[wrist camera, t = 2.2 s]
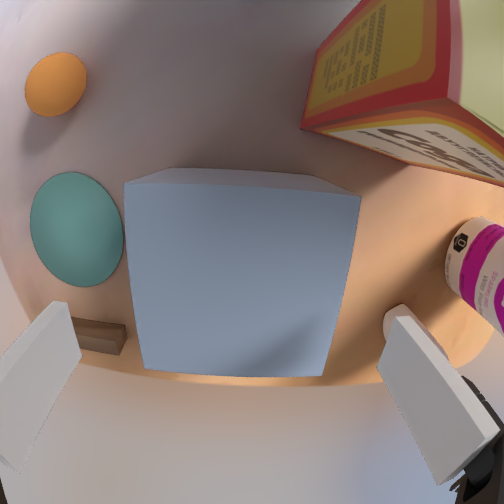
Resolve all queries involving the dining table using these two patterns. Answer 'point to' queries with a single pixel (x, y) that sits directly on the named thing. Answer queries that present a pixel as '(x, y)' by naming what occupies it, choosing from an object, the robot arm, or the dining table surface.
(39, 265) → the dining table surface
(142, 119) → the dining table surface
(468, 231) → the supplement can
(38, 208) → the disc
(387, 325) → the eye dropper bottle
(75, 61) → the ball
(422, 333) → the robot arm
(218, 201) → the light blue block
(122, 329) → the block
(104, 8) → the dining table surface
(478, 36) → the baking soda box
